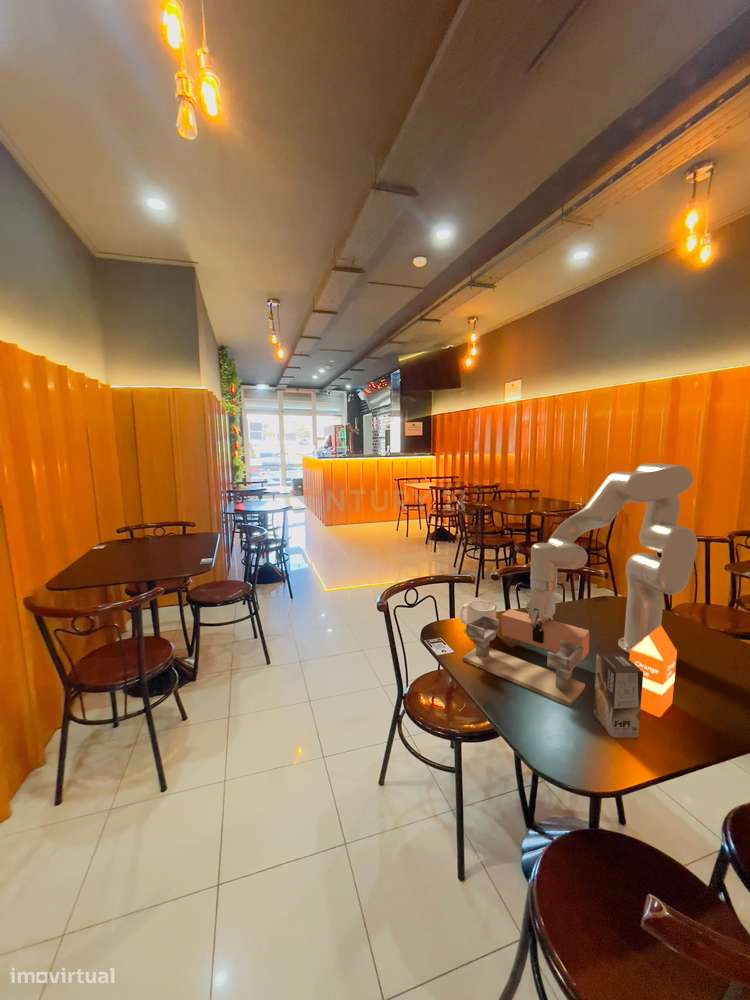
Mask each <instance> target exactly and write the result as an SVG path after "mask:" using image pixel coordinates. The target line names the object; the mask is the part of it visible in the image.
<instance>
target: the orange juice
mask: <svg viewBox="0 0 750 1000" xmlns="http://www.w3.org/2000/svg"><path fill="white" fill-rule="evenodd" d="M676 649H677V648H676V647H675V646H674V644H673V642H672V641H671V639H670V637H669V636H668V634H667V632H666V631H665V629H664V628H663V626H662V625H661V626H660V627H658V628H657V629H656V630H654V631H653V632H652V633H650V634H649V635H648V636H647V637H645V638H644V639H643V640H642V641H640V643H638V644H637V645H636V646H634V647H633V648H631V649H630V653H629V657H628V659H629V660H630V661H631V662H632V663H634V664H635V665H636V666H637V667H638V668H639V669H640V670H642V671H643V684H642V697H641V710H642V711H645V712H646V713H648V714H650V715H653V716H655V717H658V718H660V717H662V716H663V715H664V713H665V712H666V711H667V710H668V709H669V708H670V707H671V705H673V696H674V686H675V680H676V679H675V677H676V668H677V667H676V666H677V657H678V656H677V655H678V650H676Z"/></svg>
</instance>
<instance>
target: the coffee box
mask: <svg viewBox="0 0 750 1000" xmlns="http://www.w3.org/2000/svg"><path fill="white" fill-rule="evenodd" d="M595 659H596V660H595V675H594V693H593V710H592V712H593V714H594V716H595V717H596V719H598V721H599V723H601V725H602V727H603V728H604V729H605V731H606V732H608V734H609V735H610V736H611V738H622V739H623V738H625V739H627V738H635V739H637V738H639V734H640V733H639V732H640V721H641V720H640V719H641V710H642V709H641V697H642V684H643V671H642V670H640V669H639V668H638V667H637V666H636V665H635V664H634V663H632V662H631V661H630V660H629V657H627V656H626V655H625V654H624V653H623V652H622V651H621V652H620V651H615V652H614V651H610V652H609V651H606V652H605V651H604V652H596V657H595Z"/></svg>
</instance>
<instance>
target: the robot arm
mask: <svg viewBox="0 0 750 1000" xmlns="http://www.w3.org/2000/svg"><path fill="white" fill-rule="evenodd" d="M693 476H694V475H693V474H692V472H691V470H690V469H688V467H686V466H683V465H679V464H669V463H658V462H657V463H656V462H655V463H650V462H648V463H643V464H640V465H638V466H637V467H636V468H635V470H634V472H631V471H614V472H612V473H610V474H609V475H608V476H607V477H606V478H605V479H604V480H603V482H602V483H601V484H600V486H599V487H598V488H597V490H596V491H595V492H594V494H593V495H592V496H591V498H590V499H589V501H588V502H587V503H586V504H585V506H583V508H582V509H580V510H579V511H577V512H576V513H574V514H573V515H571V516H570V517H568V518H566V520H563V522H561V523H560V524H559V526H558V527H557V528H556V529H555V530H554V532H553V533H552V535H551V536H550V537H549V538H548V540H547V542H537V543H534V544H532V545H531V548H530V594H529V601H528V603H529V612H528V611H527V612H528V613H527V614H528V618H529V619H531V622H530V624H531V625H532V629H533V641H535V642H538V643H541V644H542V643H543V642H544V631H542V630H543V624H544V622H545V621H547V620H548V619H549V620H553V621H554V619H553V616H554V615H555V613H556V603H557V602H556V591H557V590H558V589H557V588H558V569H567V570H570V569H571V570H577V569H580V568H583V567H584V566H585V565H586V564H587V562H588V559H589V556H588V555H589V554H588V553H587V551H586V549H584V548H583V547H582V546H580V545H578V544H577V543H574V542H575V541H576V540H577V539H578V538H579V537H580V536H581V535H583V534H585V533H587V532H589V531H591V530H596V529H600V528H605V527H607V526H610V524H611V523H612V522H613V520H614V519H615V518H616V517H617V515H618V514H619V512H620V511H621V510H622V508H623V507H624V506H625V505H626V503H627V502H630V503H631V502H632V503H636V504H637V503H638V504H641V503H643V504H644V503H646V507H645V512H644V516H643V520H642V523H641V528H640V531H639V537H638V539H639V542H640V545H641V546H642V547H643V548H646V549H648V550H650V551H653V552H656V553H659V554H661V556H657V555H654V554H652V553H648V552H647V553H646V552H638V553H637V552H636V553H634V554H632V555H631V556H630V557H629V558H628V560H627V561H626V565H625V573H626V580H627V581H626V582H627V597H626V598H627V599H626V608H625V621H624V624H625V625H624V635H623V636H622V637H620V638H619V639H618V643H617V644H618V647H620V649H621V650H622V651H623V652H626V653H628V654H630V649H631V648H633V647H634V646H636V645H637V644H638V643H640V641H642V640H643V639H644V638H645V637H647V636H648V635H649V634H650V633H652V632H653V631H654V630H656V629H657V628H658V627H660V626H662V619H663V608H664V594H666V595H671V596H673V595H677V594H679V593H682V592H683V590H685V588H686V587H687V586H688V584H689V581H690V577H691V574H692V572H693V571H692V570H693V568H694V564H695V559H696V557H697V554H698V553H697V552H698V548H699V542H698V538H697V536H696V534H695V533H694V531H692V530H691V529H690V528H688V527H687V526H683V525H678V522H679V517H680V512H681V503H680V502H681V501H680V498H679V496H680V495H681V494H683V493H685V492H687V491H688V490H689V489H690V488H691V487H692V485H693V482H694V481H693V480H694V477H693ZM538 618H539V619H541V621H540V620H537V619H538ZM537 622H539V623H540V626H539V625H538V624H537ZM675 649H676V650H677V648H675ZM677 651H678V650H677Z"/></svg>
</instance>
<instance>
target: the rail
mask: <svg viewBox="0 0 750 1000" xmlns="http://www.w3.org/2000/svg"><path fill="white" fill-rule="evenodd" d="M537 620H540V621H541V619H539V618H538V619H537ZM530 622H531V619H529V618H528V613H526V612H523V611H519V610H517V609H512V608H509V609H507V611H505V612H503V613H502V614H501V635H502V636H505V637H508V638H510V639H513V640H517V641H520V642H523V643H526V644H529V645H533V646H535V647H538V648H542V649H545V650H548V651H549V652H552V653H556V654H557V653H558V652H559V651H560V641H561V640H564V641H567V642H570V643H573V644H576V645H579V646H582V647H583V657H582V660H581V661H583V660H584V659H585V657H587V655H588V654H589V653H590V630H589V629H585V628H581V627H577V626H575V625H571V624H566V623H563V622H560V621H555V620H554V619H553V620H549V619H548V620H547V621H545V622H544V624H543V630H542V631H544V642H543V643H542V644H541V643H538V642H535V641H533V629H532V625H531V624H530ZM537 624H538V625H539V626H540V623H539V622H537ZM581 661H580V662H581Z"/></svg>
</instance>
